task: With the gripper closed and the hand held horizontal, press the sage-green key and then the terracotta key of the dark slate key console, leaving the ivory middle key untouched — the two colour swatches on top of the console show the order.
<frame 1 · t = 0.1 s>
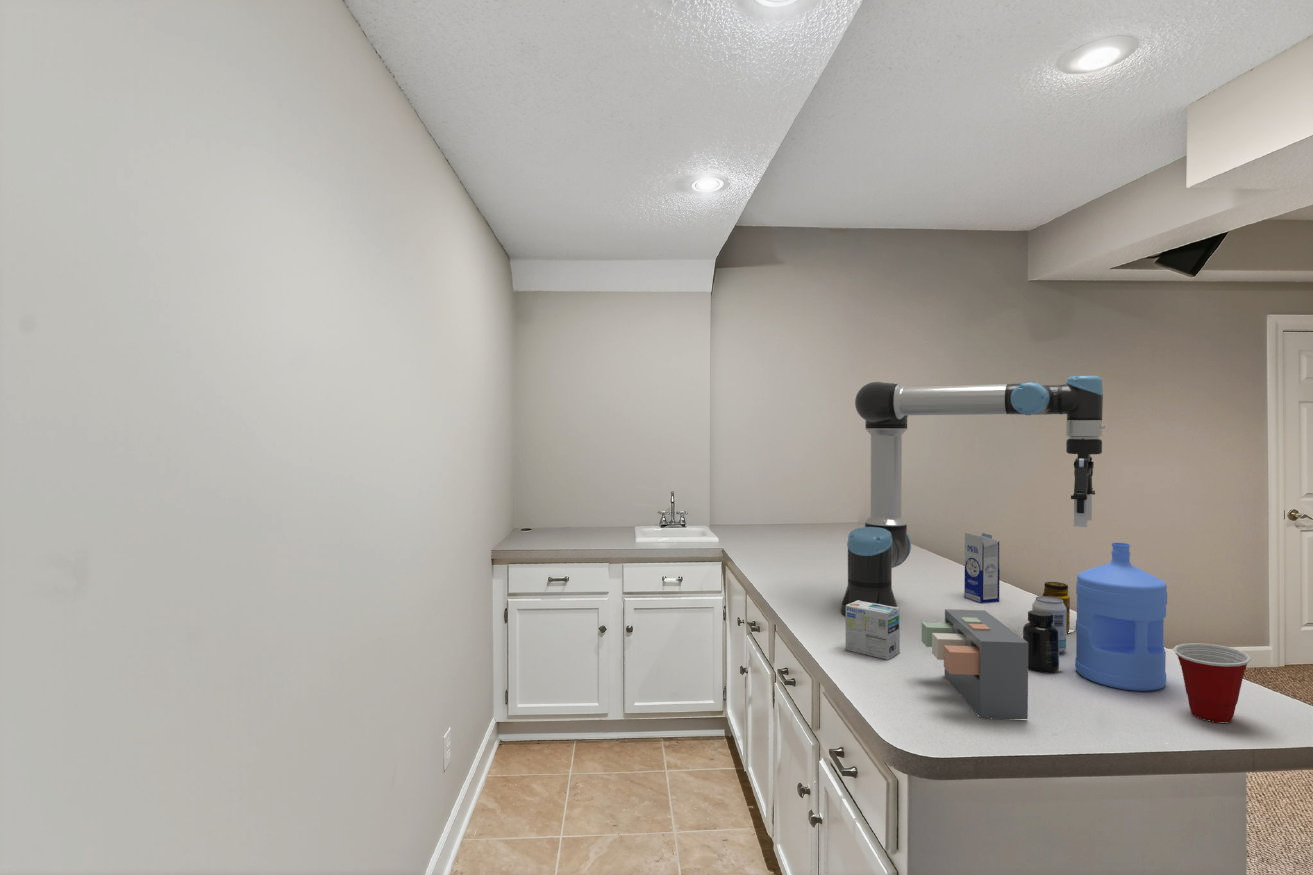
hand: (1083, 523, 169), 28 cm above the counter, tool pointing down, fingers open, 13 cm apart
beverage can: (1048, 651, 158), on the counter
water jug: (1119, 678, 141), on the counter
ivory key: (953, 646, 132), point 9 cm above the counter, slide at 0.0 cm
terracotta key: (966, 660, 125), point 10 cm above the counter, slide at 0.0 cm
key console: (982, 696, 132), on the counter
plastic cup: (1209, 717, 123), on the counter
supplement bottle: (1040, 668, 147), on the counter
sage key: (941, 634, 140), point 9 cm above the counter, slide at 0.0 cm
condiment: (1053, 631, 174), on the counter
milk carton: (981, 600, 204), on the counter
light bulb box: (872, 652, 158), on the counter
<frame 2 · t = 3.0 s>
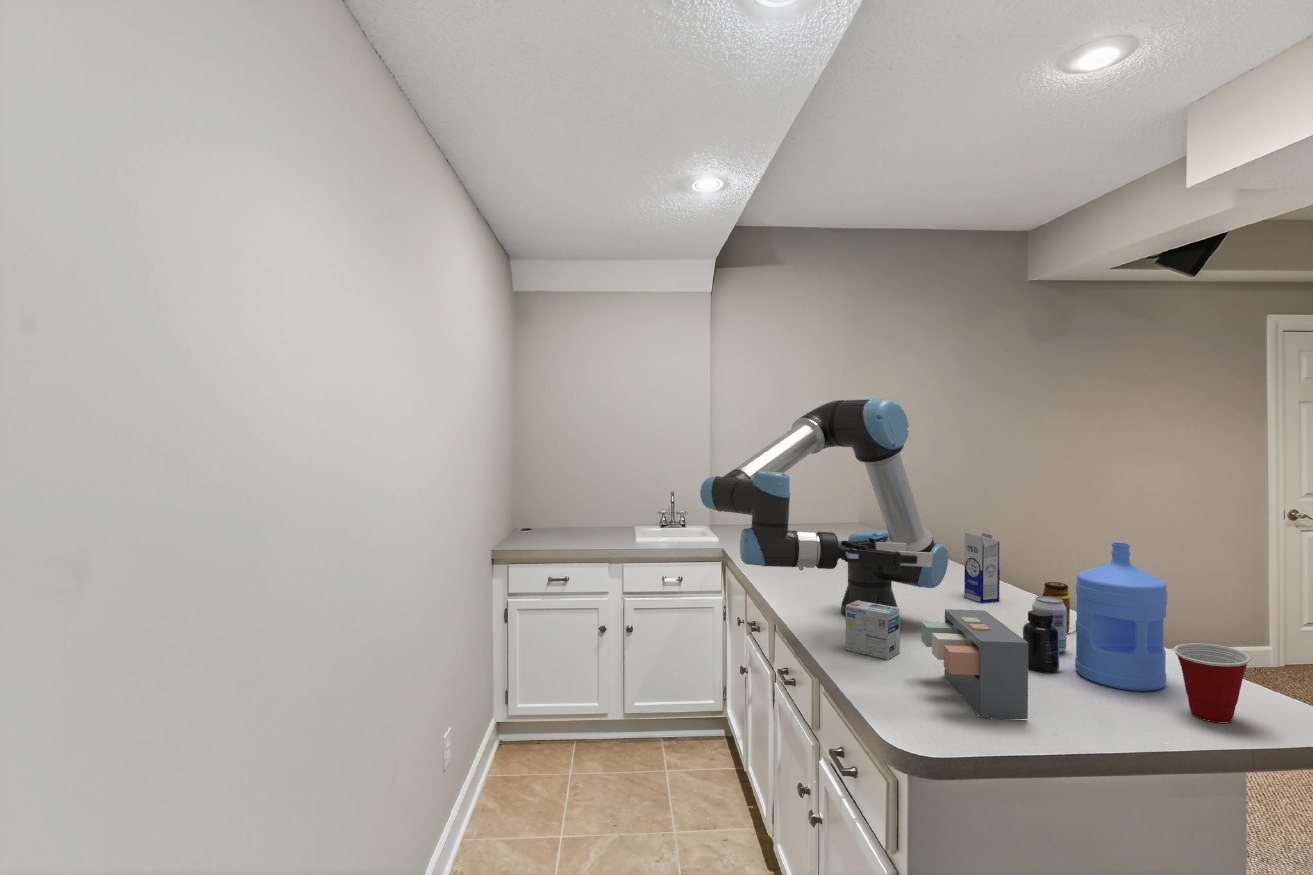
hand: (918, 554, 141), 26 cm above the counter, tool horizontal, fingers open, 13 cm apart
nothing on the counter moved.
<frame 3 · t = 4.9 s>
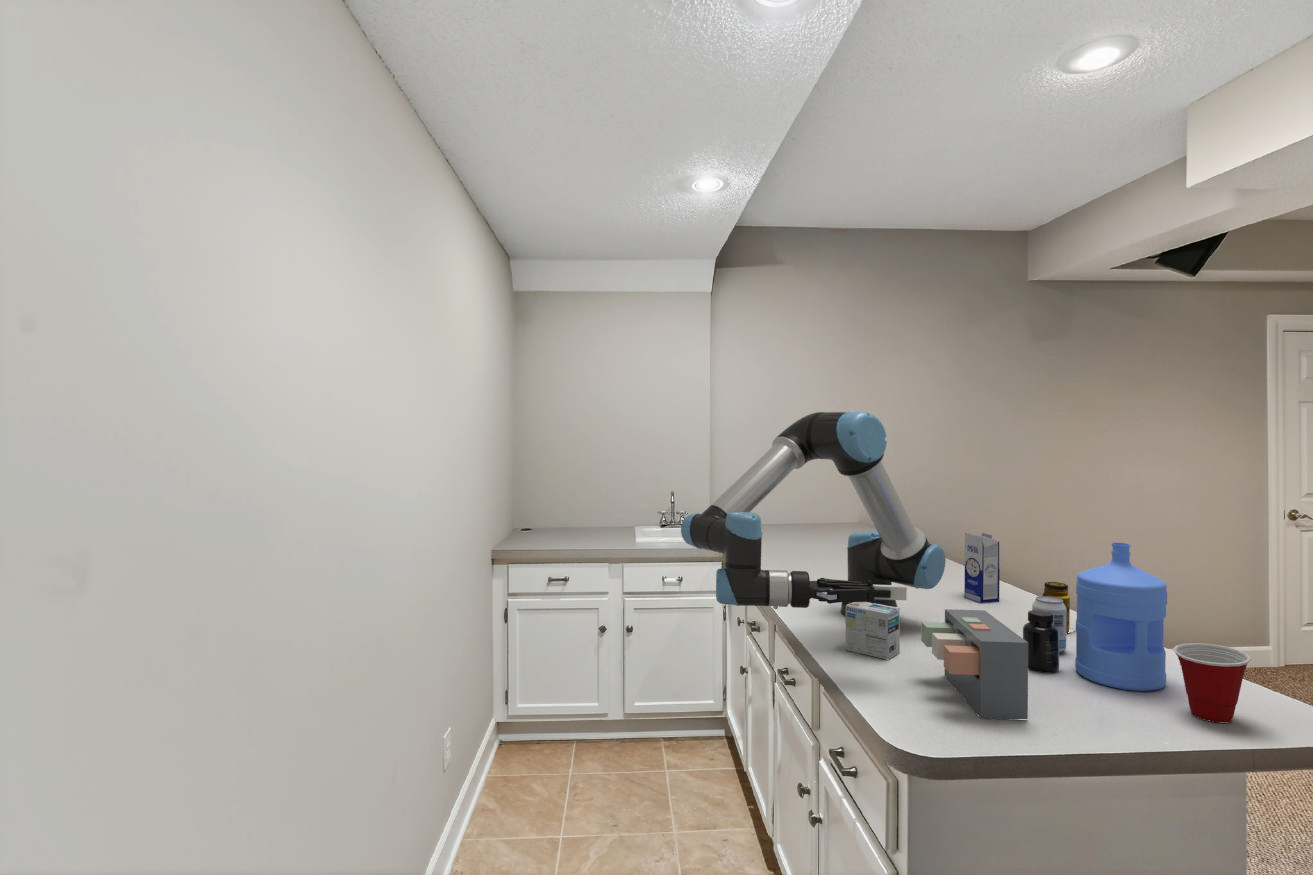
hand: (905, 592, 140), 18 cm above the counter, tool horizontal, fingers closed
nothing on the counter moved.
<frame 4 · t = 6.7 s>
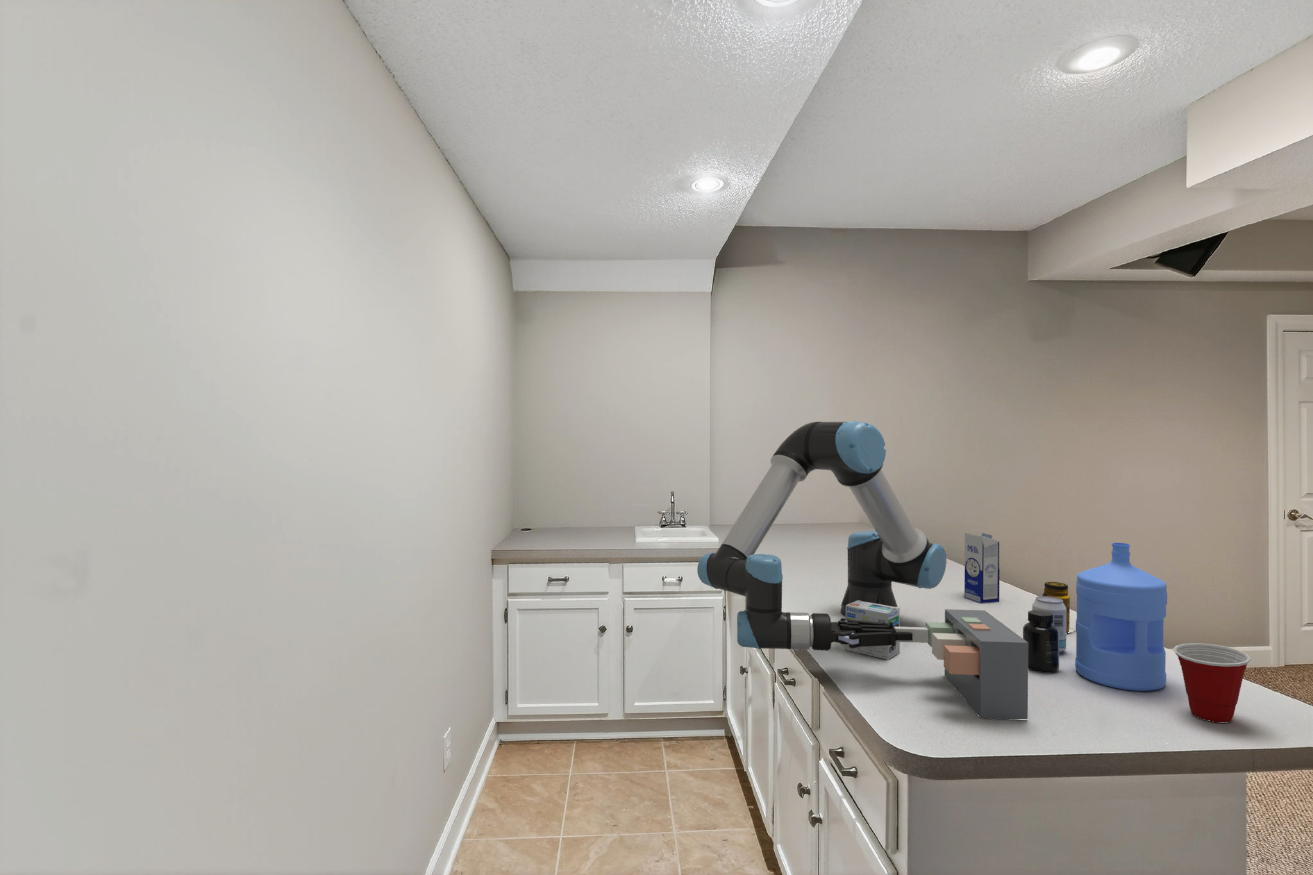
hand: (927, 635, 140), 9 cm above the counter, tool horizontal, fingers closed
sage key: (945, 634, 140), point 9 cm above the counter, slide at 0.8 cm, touching gripper
everything else where it was.
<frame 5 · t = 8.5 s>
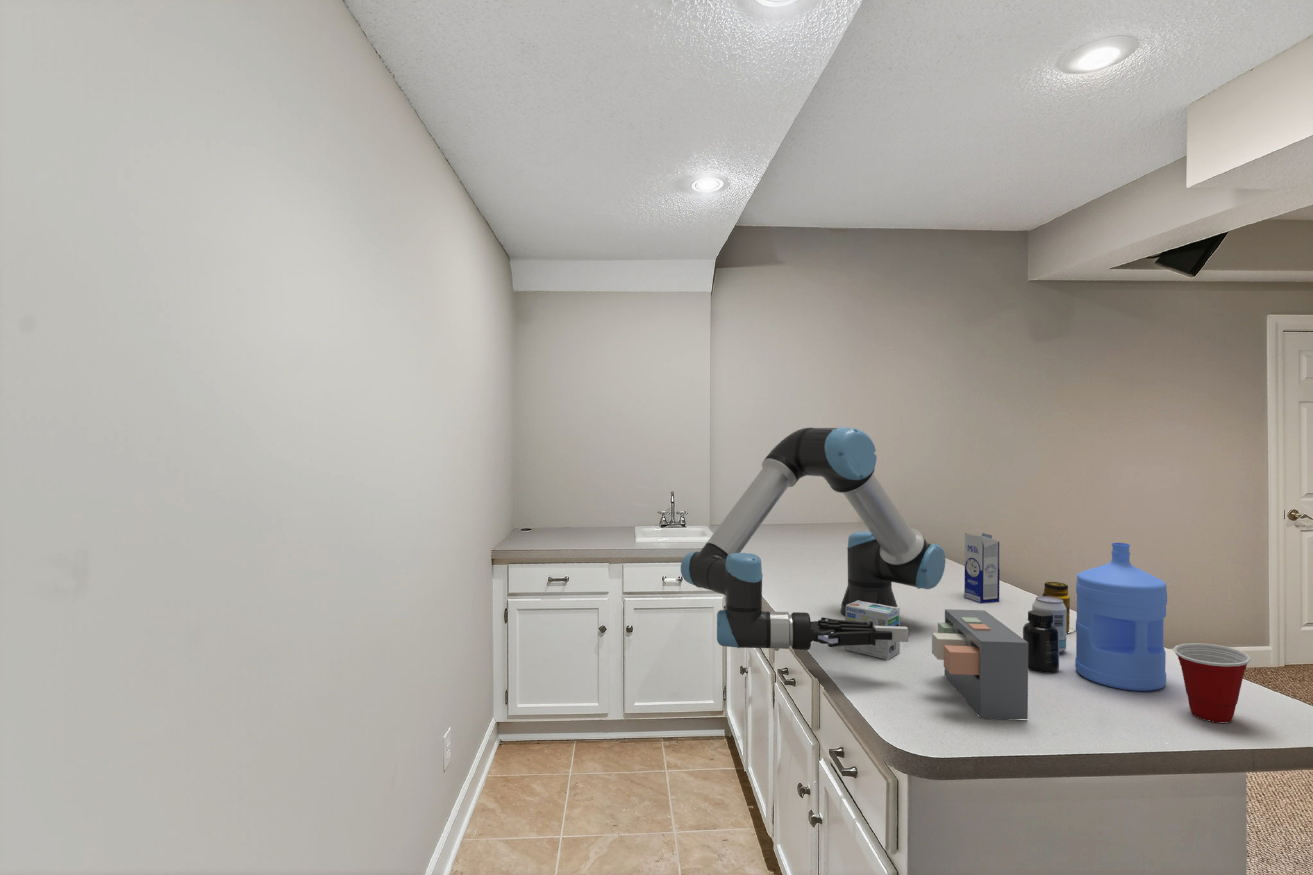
hand: (907, 634, 139), 10 cm above the counter, tool horizontal, fingers closed
sage key: (958, 635, 139), point 9 cm above the counter, slide at 3.3 cm
everything else where it was.
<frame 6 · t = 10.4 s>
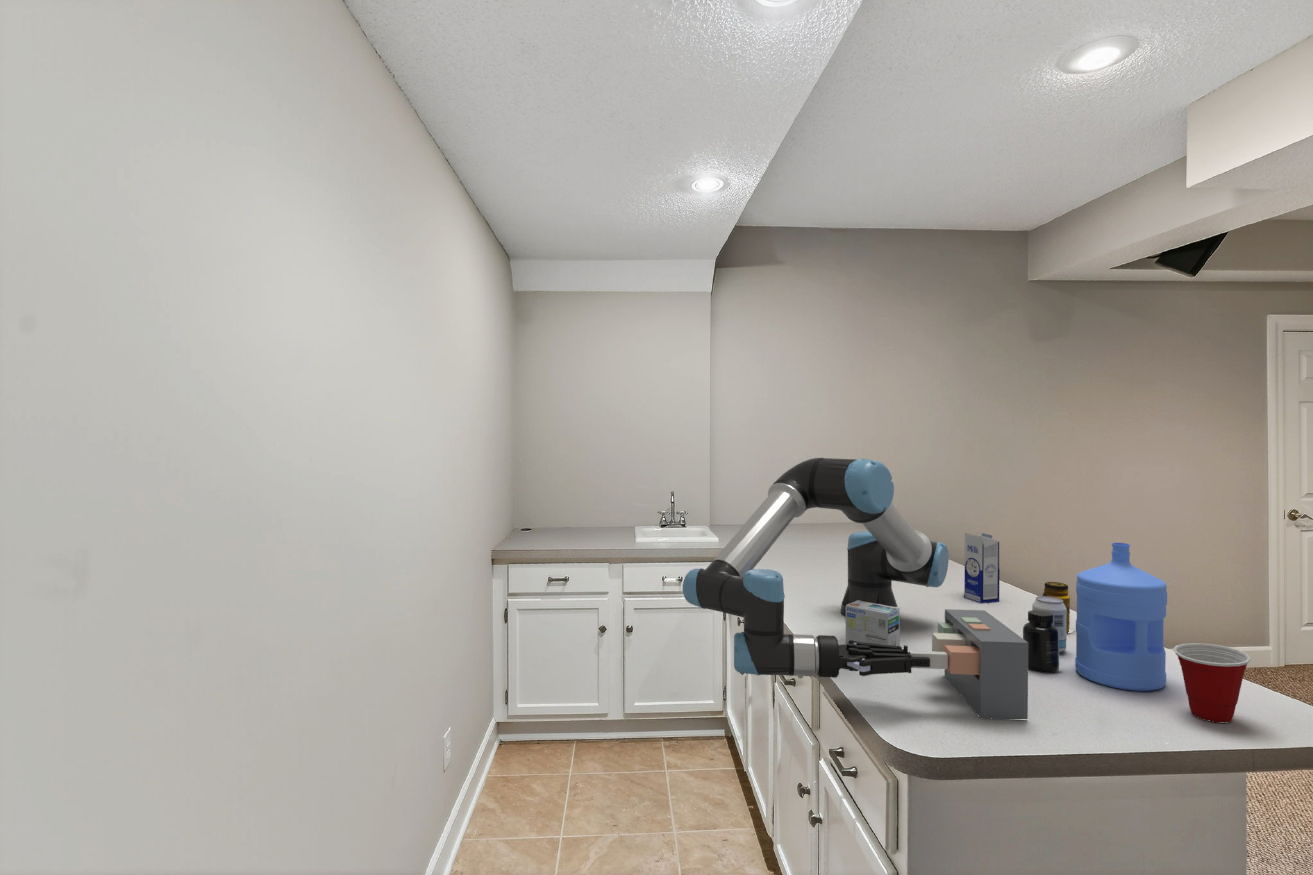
hand: (946, 660, 125), 9 cm above the counter, tool horizontal, fingers closed
terracotta key: (967, 660, 125), point 10 cm above the counter, slide at 0.1 cm, touching gripper
everything else where it was.
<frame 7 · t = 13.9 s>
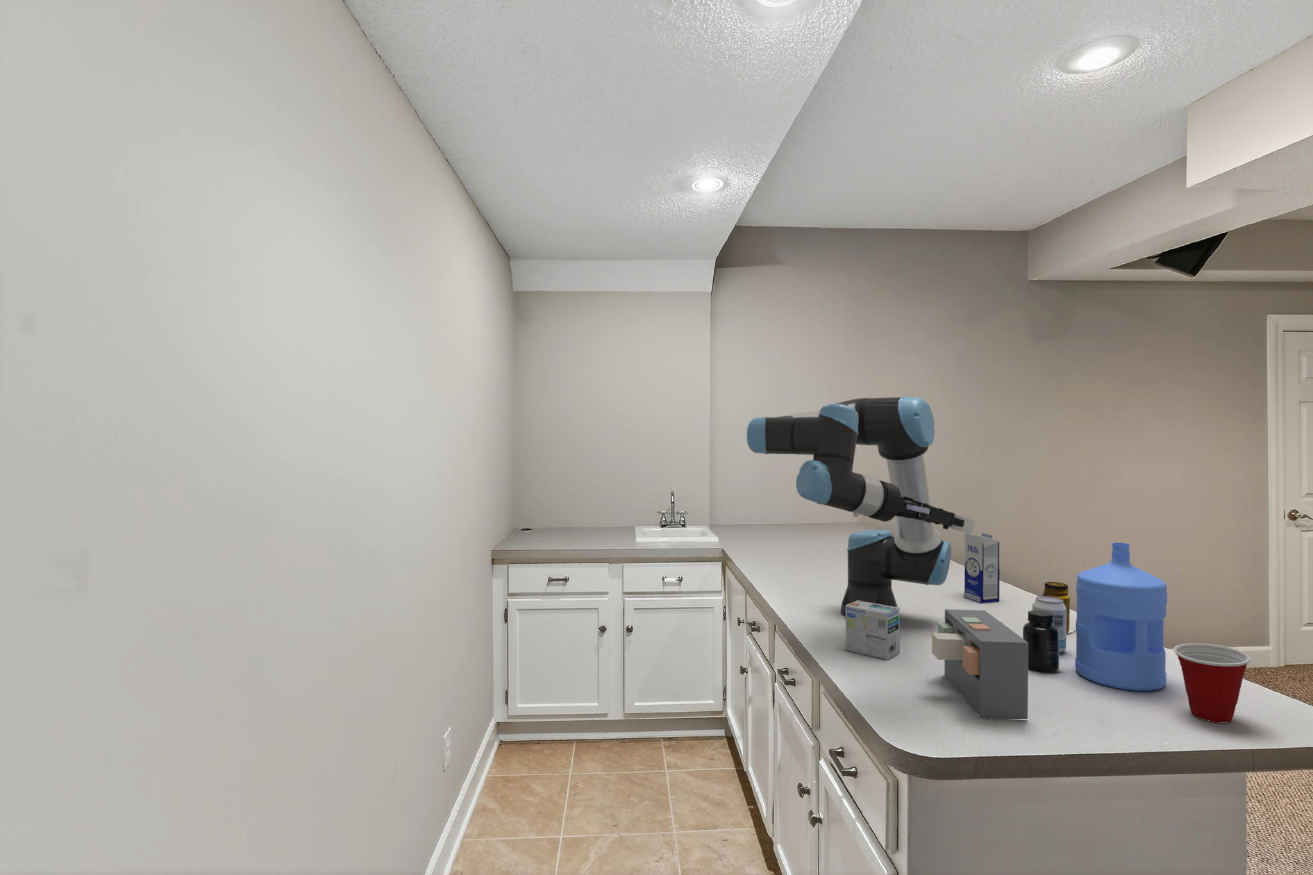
hand: (971, 526, 137), 32 cm above the counter, tool tilted 75°, fingers closed
terracotta key: (985, 660, 125), point 10 cm above the counter, slide at 3.3 cm
everything else where it was.
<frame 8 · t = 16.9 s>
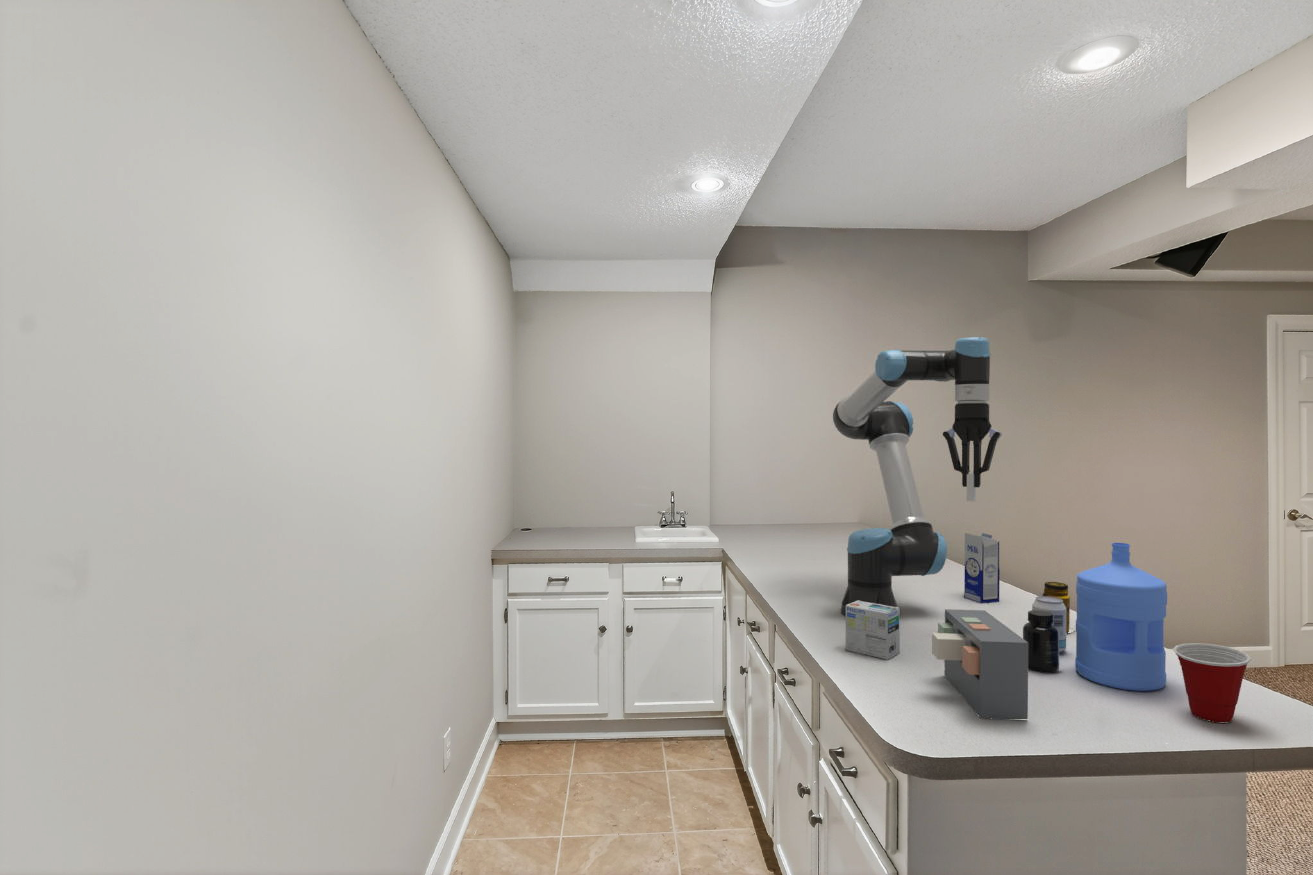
hand: (971, 500, 163), 34 cm above the counter, tool pointing down, fingers closed
nothing on the counter moved.
at the end: sage key slide at 3.3 cm; terracotta key slide at 3.3 cm; ivory key slide at 0.0 cm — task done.
